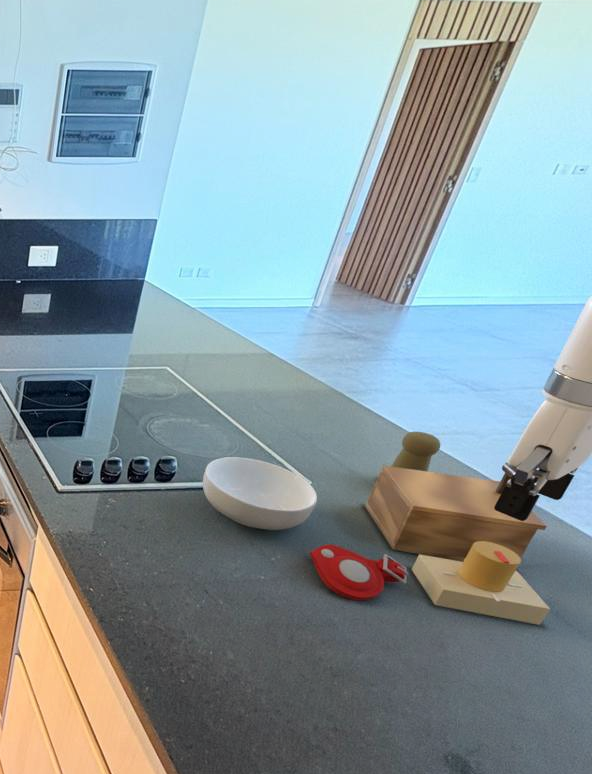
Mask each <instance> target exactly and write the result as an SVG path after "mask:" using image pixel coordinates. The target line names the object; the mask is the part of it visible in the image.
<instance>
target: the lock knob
mask: <svg viewBox="0 0 592 774" xmlns="http://www.w3.org/2000/svg"><path fill="white" fill-rule="evenodd" d="M462 562H463V561H462ZM521 562H522V559H521V558H520V557H519V556H518V555H517V554H516V553H515V552H513V551H511V550H510V549H508V548H506V547H503V546H501V545H498V544H495V543H491V542H486V541H478V542H475V543H474V544H473V545H472V547H471V549H470V551H469V553H468V555H467V556H466V558H465V560H464V562H463V564H462V566H461V567H460V569H459V575H460V576H461V578H463V579H464V580H465V581H466V582H468V583H470V584H471V585H473V586H475V587H478V588H480V589H483V590H487V591H492V592H500V591H503V590H504V589H505V587H506V586H507V584H508V582H509V581H510V579H511V577H512V576H513V574H514V572H515V571H517V569H518V567H519V566H520V564H521Z"/></svg>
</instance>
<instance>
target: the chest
mask: <svg viewBox="0 0 592 774" xmlns="http://www.w3.org/2000/svg"><path fill="white" fill-rule="evenodd" d="M364 507H365V509H366V510H367V512H368V513H369V515H370V516H371V518H372V519H373V521H374V522H375V524H376V526H377V527H378V529H379V530H380V532H381V533H382V535H383V537H384V538H385V540H386V541H387V543H388V544H389V545H390V547H391V549H392V550H393V551H399V552H405V553H410V554H411V553H412V554H417V555H425V556H431V557H437V558H443V559H449V560H455V561H460V562H464V559H465V558H466V556H467V555H468V553H469V551H470V549H471V547H472V545H473V544H474V543H475V542H478V541H486V542H491V543H495V544H498V545H501V546H503V547H506V548H508V549H510V550H511V551H513V552H515V553H516V554H517V555H518V556H519V557H520V559H521V558H522V556H523V555H524V553H525V551H526V550H527V549H528V546H529V544H530V543H531V541H532V539H533V538H534V536H535V535H536V533H537V531H538V529H534V528H528V527H521V526H514V525H508V524H501V523H495V522H488V521H482V520H475V519H469V518H462V517H456V516H449V515H443V514H436V513H430V512H423V511H417V510H412V509H411V508H410V506H409V505H408V504H407V502H406V501H405V500H404V498H403V497H402V496H401V494H400V493H399V492H398V491H397V489H396V488H395V487H394V485H393V484H392V483H391V481H390V480H389V479H388V477H387V476H386V475H385V473H384V472H383V471H382V469H381V470H380V472H379V473H378V476H377V478H376V481H375V483H374V485H373V488H372V489H371V492H370V495H369V496H368V499H367V501H366V503H365V506H364Z"/></svg>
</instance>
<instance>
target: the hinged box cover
mask: <svg viewBox="0 0 592 774" xmlns="http://www.w3.org/2000/svg"><path fill="white" fill-rule="evenodd" d="M391 466H392V465H391ZM391 466H390V465H382V467H381V470H382V471H383V472H384V473H385V475H386V476H387V477H388V479H389V480H390V481H391V483H392V484H393V485H394V487H395V488H396V489H397V491H398V492H399V493H400V494H401V496H402V497H403V498H404V500H405V501H406V502H407V504H408V505H409V506H410V508H411V509H412V510H417V511H423V512H430V513H436V514H443V515H449V516H456V517H462V518H469V519H475V520H482V521H488V522H495V523H501V524H508V525H514V526H521V527H528V528H534V529H537V530H542V531H545V530H546V528H547V527H548V525H546V524H545V522H544V521H542V519H540V518H539V516H537V515H536V514H535V513H534V512H533V510H532V511H531V513H530V515H529V516H528V518H527V519H526V520H525V521H520V520H518V519H515V518H513V517H510V516H508V515H506V514H503V513H501V512H498V511H496V510H495V509H494V507H495V505H496V503H497V501H498V499H499V497H500V495H501V493H502V491H503V489H504V487H505V485H506V484H507V482H508V481H509V479H510V478H511V477H512V475H513V474H514V473H515V472H516V469H517V467H518V466H517V467H515V466H513V467H511V466H509V465H508V464H507V462H505V463H503V465H502V466H501V470H502V471H503V472H504V474H503V476H502V477H501V480H500V481H498V480H490V479H486V478H485V479H484V478H478V477H471V476H469V477H468V476H463V475H456V474H448V473H441V472H434V471H428V472H427V471H420V470H412V469H405V468H398V467H391ZM534 478H535V477H534V476H532V477H531V479H534Z"/></svg>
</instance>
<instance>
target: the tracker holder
mask: <svg viewBox="0 0 592 774" xmlns="http://www.w3.org/2000/svg"><path fill="white" fill-rule="evenodd" d="M308 555H309V556H310V558H311V560H312V562H313V564H314V567H315V569H316V572H317V574H318V575H319V577H320V579H321V580H322V581H323V583H324V584H325V586H326V587H327V588H328V589H330V590H331V591H333V593H336V594H337V595H339V596H341V597H343V598H347V599H349V600H353V601H369V600H372V599H374V598H376V597H377V596H379V595H380V594H381V593H382V592H383V590H384V587H385V582H387V583H402V584H403V585H404V584H407V576H410V573H409V572H407V567H406V566H404V565H403V564H402V563H400V562H398V560H396V559H394V558H393V557H391V556H390V555H388V554H387V553H385V554H383V558H380V559H378V560H374V559H371V558H368V557H365V556H363V555H361V554H359V553H356V552H354V551H351V550H349V549H348V548H344V547H341V546H338V545H335V544H322V545H319V546H318V547H317V548H315V549H312V550H311V551H309V552H308Z"/></svg>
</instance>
